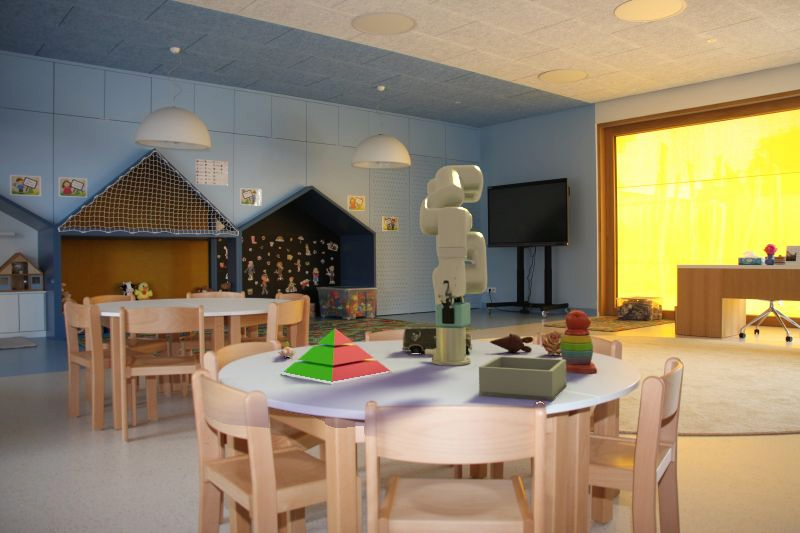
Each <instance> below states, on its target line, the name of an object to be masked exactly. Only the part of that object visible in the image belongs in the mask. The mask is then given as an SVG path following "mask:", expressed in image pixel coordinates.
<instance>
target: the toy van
mask: <svg viewBox="0 0 800 533" xmlns="http://www.w3.org/2000/svg"><path fill="white" fill-rule="evenodd" d="M472 341H473V336H472V335H471V334H470V333H466V355H469V351H472V349H473V343H472ZM435 348H436V323H419V324H418V323H416V324H415V323H414V324H413V323H412V324H408V325H406V326H405V327H404V330H403V336H402V348H401V349H402V351H409V352H410V354H411V353H422V354H423V352H425V350H426V349H435Z"/></svg>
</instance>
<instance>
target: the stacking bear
mask: <svg viewBox="0 0 800 533" xmlns="http://www.w3.org/2000/svg"><path fill="white" fill-rule="evenodd" d="M565 324H566V328H567V329H565V331H564V332H563V333H564V334H563V336H562V341H561V354H560V356H561V359H564V360H566V372H567V371H568V372H569V373H575V372H576V374H596V373H597V372H598V369H597V367H596V365H595V364H594V363H593V362H592V359H593V355H594V344H593V340H592V339H593V338H592V335H591V333H590V331H589V330H588V328H589V327H590V326H591V324H592V319H591V318H589V317H588V316H587V314H586V313H585V311H582V310H576V309H572V310H570V311H569V312H568V313H567V314H566V316H565ZM568 372H567V373H568Z"/></svg>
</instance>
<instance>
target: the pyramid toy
mask: <svg viewBox="0 0 800 533" xmlns="http://www.w3.org/2000/svg"><path fill="white" fill-rule="evenodd" d="M352 343H355V342H354V341H352V340H351V339H350V338H348V336H346V335H344V334H343V333H342V332H340V331H339V330H338V329H337V328H334V329H332V330H331V331H330V332H329V333H328V334H326V335H325V336H324V337H323V338H321V339H320V340H319V341H318V342H317V345H313V346H312V347H311V348H309V350H307V351H306V352H305V353H304V354H303V355H302V356H300V357H299V358H298V359H297V361H295V362H293V363H292V364H291V365H290V366H288V367H287V368H286V369H285V370H283V372H286V373H290V374H295V375H300V376H305V377H310V378H315V379H320V380H326V381H331V382H333V381H338V380H344V379H349V378H354V377H360V376H365V375H371V374H376V373H381V372H386V371H391V370H390V368H389V369H388V367H386V366H385V365H384V364H383V363H381V362H380V361H379V360H377V359H374V357H373V356H372V355H371V354H369V352H367V351H366V350H364V349H362V348H361V347H360V346H359V345H357V344H352Z"/></svg>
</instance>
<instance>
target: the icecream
mask: <svg viewBox="0 0 800 533" xmlns="http://www.w3.org/2000/svg"><path fill="white" fill-rule="evenodd" d="M533 341H534V338H533V337H532V336H525V337H520V336H519V335H518V334H515V333H514V334H513V333H510V334H509V335H506V336H504V337H500V338H496V339H494V340H491V341H489V342H490V344H492V345H494V346H498V347H499V348H501V349H505V350H506V351H507V352H508V353H509V354H510V353H515V354H516V353H518V352H520V351H523V352H526V353H531V352H532V347H530V346H529V345H525V344H531V343H532V342H533Z"/></svg>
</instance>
